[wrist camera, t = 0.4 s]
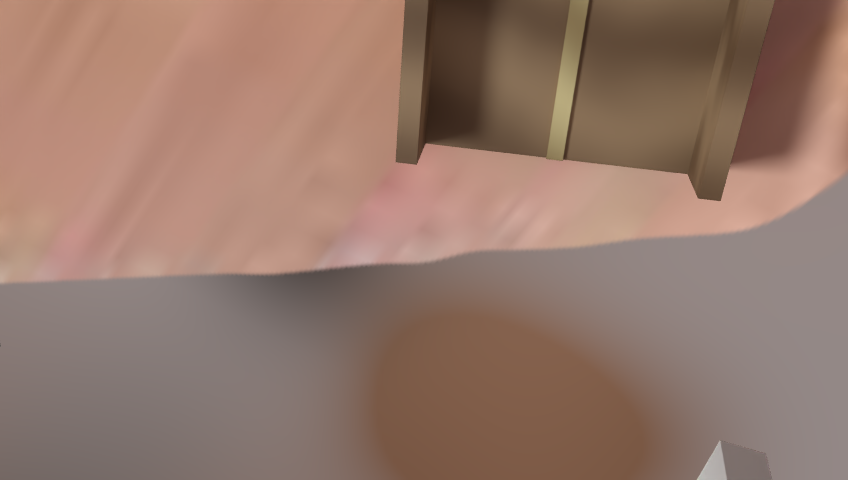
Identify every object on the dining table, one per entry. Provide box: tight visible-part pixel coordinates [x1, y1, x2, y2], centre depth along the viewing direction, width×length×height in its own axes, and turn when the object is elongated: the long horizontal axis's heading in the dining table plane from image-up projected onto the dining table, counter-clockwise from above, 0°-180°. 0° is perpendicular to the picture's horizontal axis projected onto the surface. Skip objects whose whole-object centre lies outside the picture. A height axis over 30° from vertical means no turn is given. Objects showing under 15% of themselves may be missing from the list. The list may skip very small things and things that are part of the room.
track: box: [396, 0, 775, 201], centre depth 34 cm, size 14×15×4 cm
